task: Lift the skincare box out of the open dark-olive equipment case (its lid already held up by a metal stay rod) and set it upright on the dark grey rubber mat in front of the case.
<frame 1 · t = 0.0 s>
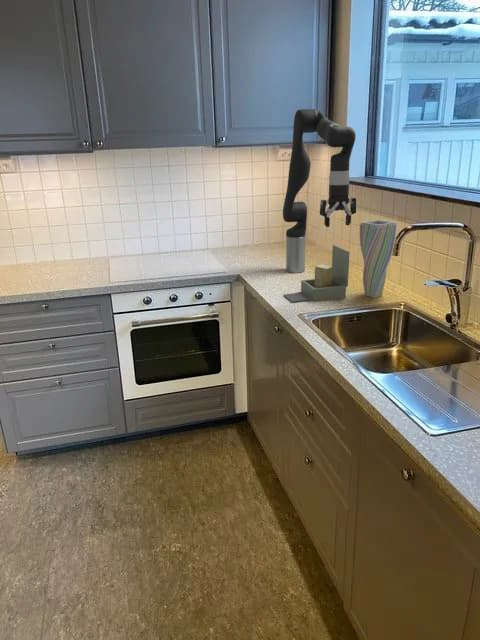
hand: (337, 225, 193), 29 cm above the worktop, fingers open, 8 cm apart
case: (322, 294, 207), on the worktop
skincare box: (322, 294, 207), resting in case
vase: (373, 295, 204), on the worktop
mat: (296, 298, 203), on the worktop
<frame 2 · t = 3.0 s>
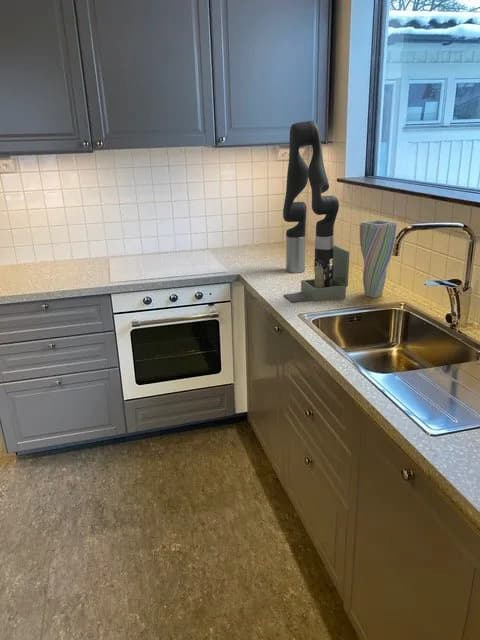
hand: (323, 285, 206), 4 cm above the worktop, fingers closed on skincare box, 7 cm apart
skincare box: (322, 294, 207), resting in case, touching gripper
everything else where it was.
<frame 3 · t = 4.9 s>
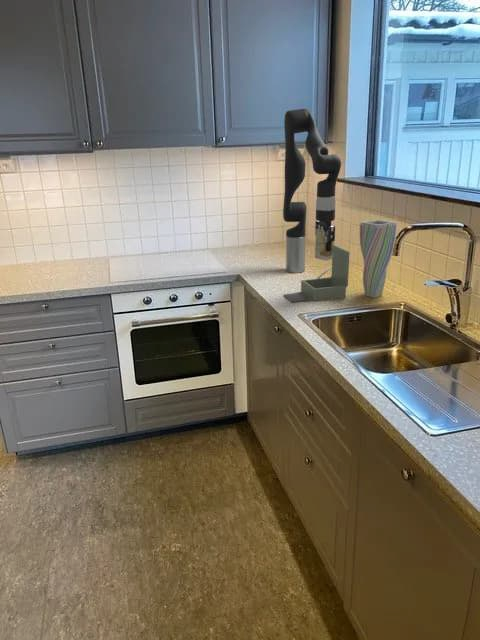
hand: (324, 249, 200), 19 cm above the worktop, fingers closed on skincare box, 7 cm apart
skincare box: (323, 259, 202), point 15 cm above the worktop, touching gripper
everything else where it was.
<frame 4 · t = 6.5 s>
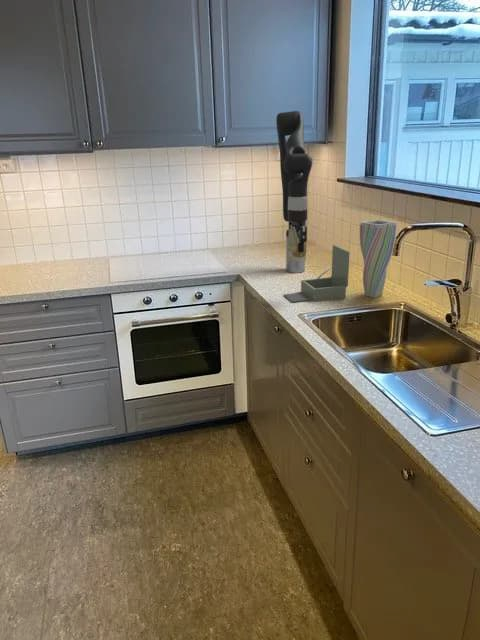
hand: (297, 250, 196), 20 cm above the worktop, fingers closed on skincare box, 7 cm apart
skincare box: (297, 260, 198), point 16 cm above the worktop, touching gripper
everything else where it was.
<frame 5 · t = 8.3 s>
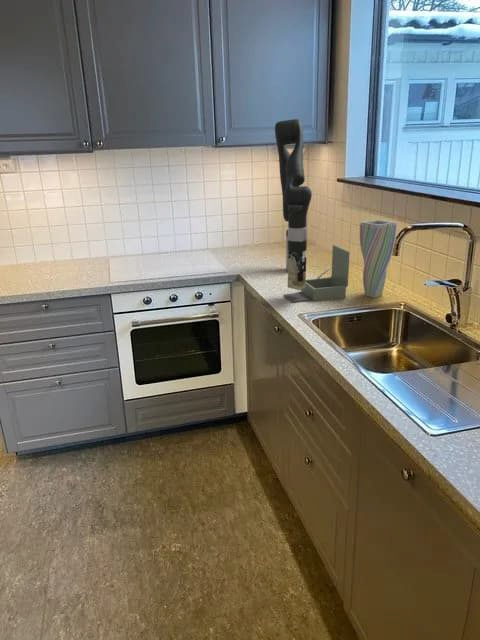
hand: (296, 278, 200), 8 cm above the worktop, fingers closed on skincare box, 7 cm apart
skincare box: (296, 288, 202), point 4 cm above the worktop, touching gripper
everything else where it was.
when the fingers open (6 cm above the worktop, at t = 9.9 s): skincare box drops 2 cm, resting on mat.
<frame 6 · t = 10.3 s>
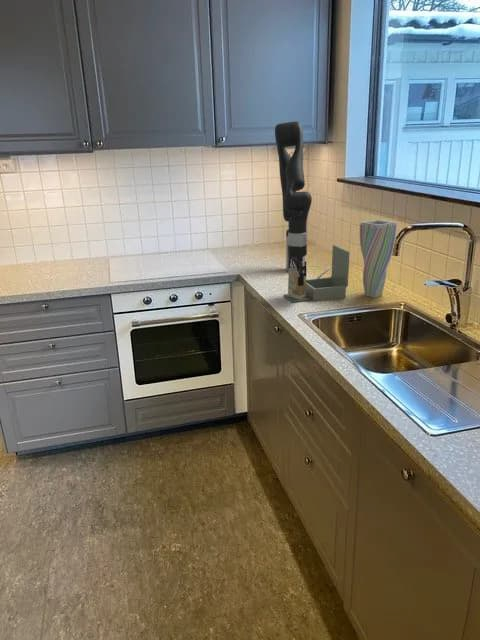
hand: (296, 282, 201), 7 cm above the worktop, fingers open, 8 cm apart
skincare box: (296, 297, 203), resting on mat
everything else where it was.
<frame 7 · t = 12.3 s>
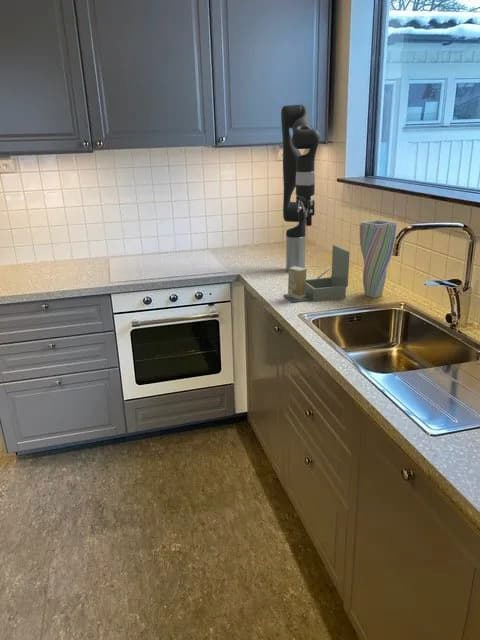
hand: (304, 223, 202), 29 cm above the worktop, fingers open, 8 cm apart
nothing on the worktop moved.
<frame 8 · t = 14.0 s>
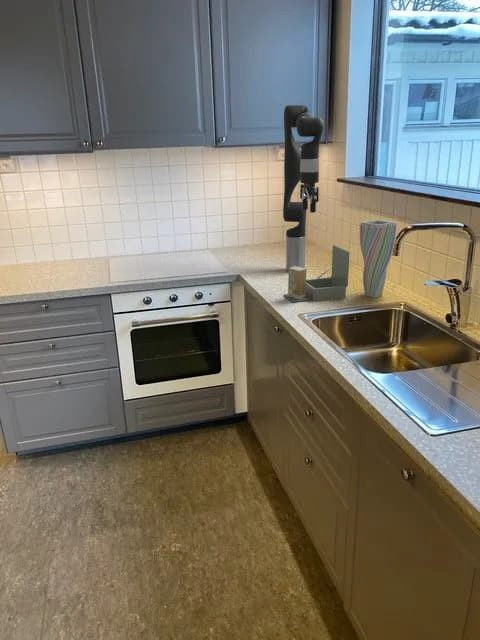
hand: (308, 211, 206), 33 cm above the worktop, fingers open, 8 cm apart
nothing on the worktop moved.
at the end: skincare box inside the target area on the mat (0.1 cm from its centre), point 0.4 cm above the mat's base; skincare box tilted 0°; the gripper is holding nothing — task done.
